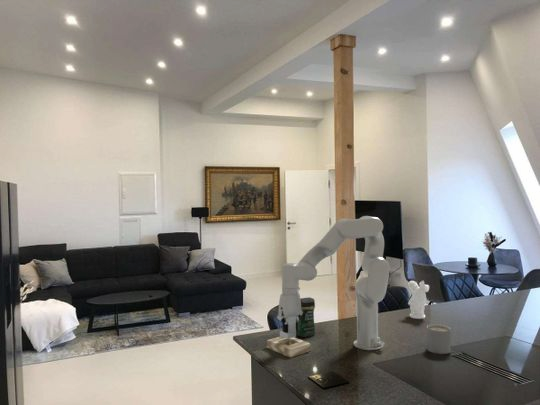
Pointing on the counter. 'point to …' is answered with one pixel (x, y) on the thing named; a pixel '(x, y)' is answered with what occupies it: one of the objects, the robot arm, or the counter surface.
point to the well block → (288, 346)
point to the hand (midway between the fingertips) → (290, 330)
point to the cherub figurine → (417, 299)
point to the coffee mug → (438, 339)
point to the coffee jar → (306, 318)
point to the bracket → (290, 328)
